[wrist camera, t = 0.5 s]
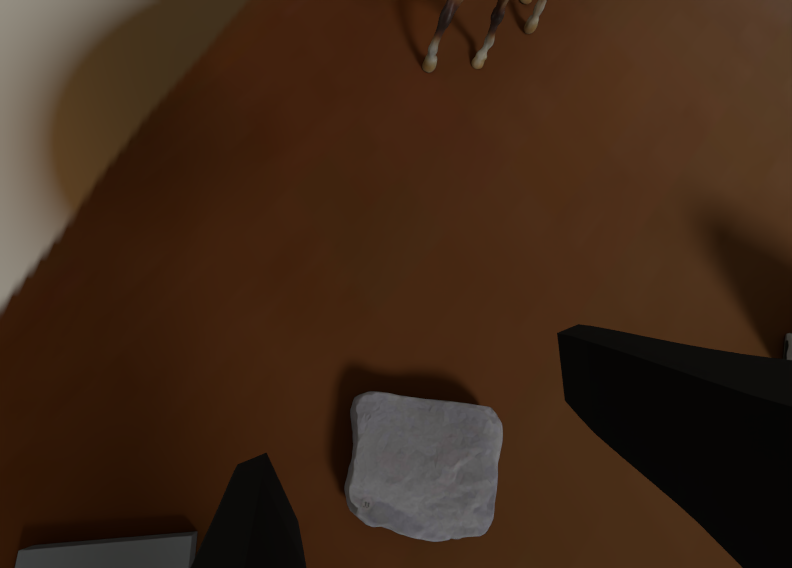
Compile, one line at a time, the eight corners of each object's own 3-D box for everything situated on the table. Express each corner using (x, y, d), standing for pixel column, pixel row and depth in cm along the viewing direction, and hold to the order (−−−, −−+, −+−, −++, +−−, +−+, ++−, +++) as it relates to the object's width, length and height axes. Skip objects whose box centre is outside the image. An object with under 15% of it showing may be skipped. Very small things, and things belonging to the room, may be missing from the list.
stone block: (480, 526, 35) (490, 401, 37) (502, 553, 30) (512, 408, 32) (335, 513, 34) (353, 385, 35) (334, 540, 29) (354, 390, 31)
